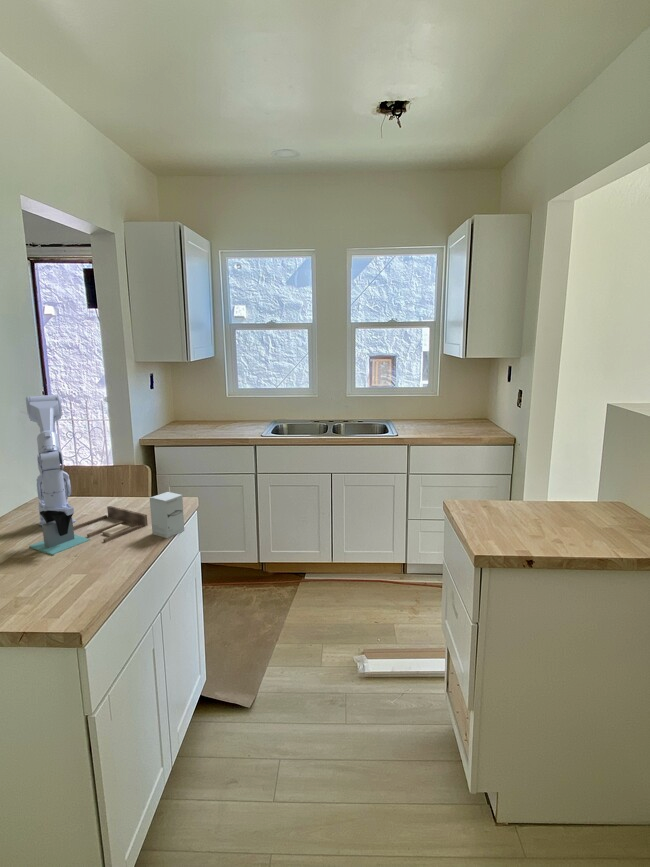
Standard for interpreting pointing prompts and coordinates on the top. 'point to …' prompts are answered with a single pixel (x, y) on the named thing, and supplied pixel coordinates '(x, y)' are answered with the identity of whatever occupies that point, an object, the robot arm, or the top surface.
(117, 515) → the rack
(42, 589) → the top surface
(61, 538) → the block
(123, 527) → the offcut top
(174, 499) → the supplement box
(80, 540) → the mat
